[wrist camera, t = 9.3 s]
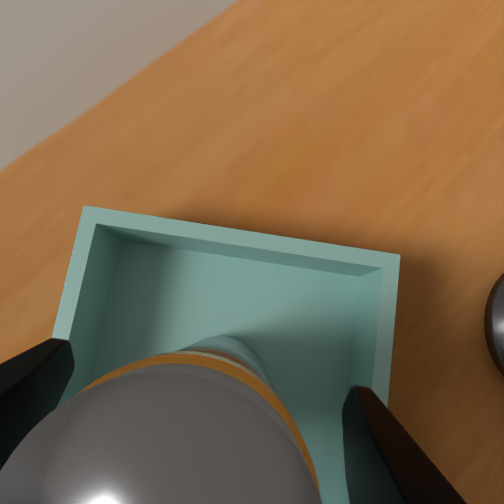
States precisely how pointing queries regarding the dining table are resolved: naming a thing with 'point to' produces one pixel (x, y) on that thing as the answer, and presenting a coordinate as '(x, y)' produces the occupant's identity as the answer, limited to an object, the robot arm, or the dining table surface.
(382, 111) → the dining table surface
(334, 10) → the dining table surface
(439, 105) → the dining table surface
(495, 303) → the dark metal disc
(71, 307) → the bin
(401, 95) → the dining table surface
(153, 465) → the strut
